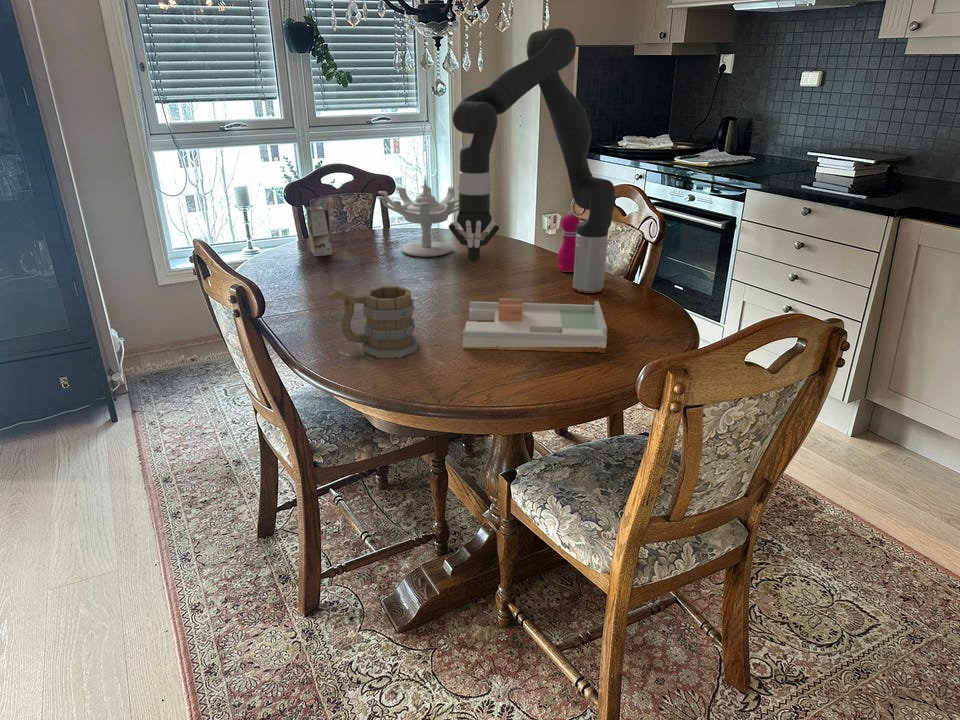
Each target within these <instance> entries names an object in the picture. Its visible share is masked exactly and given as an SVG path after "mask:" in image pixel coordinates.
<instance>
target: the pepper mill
mask: <svg viewBox="0 0 960 720" xmlns="http://www.w3.org/2000/svg"><path fill="white" fill-rule="evenodd" d="M567 214H568V215H566V216H564V217H563V218H562V219H561V222H560V223H561V228H562V233H561V234H562V235H563V237H562V238H563V239H562V244H561V246H560V249H559V251H558V253H557V261H558V263H559V264H558V266H557V270H558V269H559V270H562V271H574V262H575V248H576V232H577V225H578V223H580V222H581V221H580V219H579V218H578V217H577V216H576V215H574V214H575V212H574V211H573V210H568V213H567Z"/></svg>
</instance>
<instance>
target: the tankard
mask: <svg viewBox="0 0 960 720" xmlns="http://www.w3.org/2000/svg"><path fill="white" fill-rule="evenodd" d="M411 293H412V291H411V289H408V288H405V287H402V286H396V285H395V286H393V285H391V286H389V285H386V286H379V287H374V288H370V289H368V290H367V291H366V293H365V295H355V294H354V295H353V294H351V293H348V292H346V291H344V290H341V289H339V288H337V289H335V290H333V291H332V292H330V293H329V294H328V298H329V299H330V300H331V302H335V300H338V299H339V300H342V301H343V302H344V303H343V305H344V307H343V309H344V312H343V314H342V318H341V322H340V328H341V329H340V330H341V333H342V335H343V336H344V337H345V339H346V340H347V342H351V343H358V344H361V343H363V345H362V352H363V353H365V352H366V353H365V354H367V353H368V354H367V355H369V354H370V356H372V355H373V356H372V357H374V356H375V358H376V357H377V358H376V359H400V357H401V358H403V357H402V356H404V357H406V356H409V355H411V353H412V354H414V353H416V352H417V351H418V345H419V340H418V338H419V337H417V336H416V335H414V332H415V328H416V324H415V318H412V317H413V315H414V309H415V304H414V303H415V302H414V299H412V294H411ZM355 304H363V306H362V309H363V316H364V317H366V321H365V325H364V332H363V333H355V332H353V330H352V328H351V327H352V326H351V322H352V319H353V316H354V313H355V310H354V309H355ZM415 351H416V352H415ZM413 352H414V353H413ZM408 354H409V355H408ZM405 355H406V356H405ZM379 357H381V358H379ZM395 357H397V358H395Z"/></svg>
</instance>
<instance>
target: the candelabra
mask: <svg viewBox="0 0 960 720" xmlns="http://www.w3.org/2000/svg"><path fill="white" fill-rule="evenodd" d="M421 188H422V192H421V193H420V194H418V195H417V196H416V197H415V200H414V201H413V200H412V199H411V198H410V197H409V196H408V192H407V189H406V188H404V187H400V186H396V187H394V189H395V190H396V191H398V195H399V198H400V199H401V200H402V202H403V204H402V203H401V201H400V200H392V199H391V198H390V197H389V195H388V191H384V190H379V191H378V192H377V193H378V194H379V195H380V196H379V195H378V196H377V199H378V200H381V202H382V205H383V206H384V207H386V208H387V209H389V210H390V211H393V212H396V213H397V214H399V215H402V217H403V218H404V220H405V221H406V222H407V223H412V224H419V225H420V227H421V230H422V231H421V232H422V234H421V241H414V242H410V243H406V244H403V246H401V249H400V251H401V252H402V253H404V254H406V255H409V256H411V257H413V256H414V257H424V258H427V257H429V258H430V257H432V258H433V257H439V256H444V255H446V254H450V253H451V252H452V251H453V246H451V245H450V244H449V243H445V242H442V241H441V242H440V241H433V240H432V234H431V230H432V226H433V224H439V223H443V222H446V221H447V220H448V218H449V216H450V215H451V214H454V213H456V212H459V199H458V200H457V199H455V200H453V198H455V197H454V195H455V187H454V186H451V185H450V186H448V187H447V193H446V195H445V196H444V198H443V199H442V200H441V201H438V200H436V197H435V196H434V195H433V194H432V188H431V187H430V186H428V184H427V180H426V177H424V181H423V185H421ZM381 195H383V196H381Z"/></svg>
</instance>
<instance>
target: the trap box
mask: <svg viewBox="0 0 960 720" xmlns="http://www.w3.org/2000/svg"><path fill="white" fill-rule="evenodd" d="M498 312H499V301H497V302H496V301H469V309H468V320H467V321H466V323H465V327H464V329H463V330H462V348H463V347H492V346H493V347H496V346H499V347H599V348H600V347H601V348H606V349H607V343H608V342H607V341H608V327H607V324H606V323H607V322H606V321H605V320H606V319H605V317H604V314H603V311H602V307H601V305H600V302H599V300H594V304H573V303H570V304H569V303H538V302H537V303H535V302H523V304H522V321H498ZM469 320H494V322H477V321H469Z"/></svg>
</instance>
